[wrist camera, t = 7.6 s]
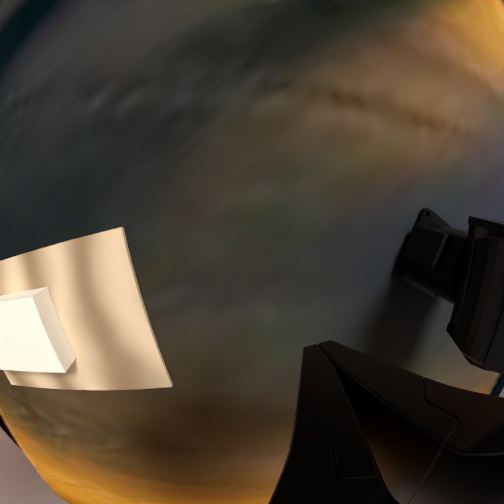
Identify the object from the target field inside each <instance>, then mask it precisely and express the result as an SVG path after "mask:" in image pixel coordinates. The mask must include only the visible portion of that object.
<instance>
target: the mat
mask: <svg viewBox="0 0 504 504" xmlns="http://www.w3.org/2000/svg"><path fill="white" fill-rule="evenodd" d="M43 287H48V290H49V293H50V296H51V299H52V302H53V304H54V307H55V310H56V313H57V315H58V318H59V320H60V323H61V325H62V328H63V330H64V333H65V335H66V337H67V340H68V342H69V344H70V346H71V349H72V351H73V353H74V355H75V357H76V359H75V360H74V362H73V363H72V364H71V366H70V367H69V368H68V370H67V371H66V373H52V372H27V371H13V370H4V372H5V374H6V376H7V377H8V379H9V381H10V383H11V384H12V385H19V386H28V387H39V388H51V389H69V390H132V389H151V388H165V387H172V386H173V383H172V380H171V378H170V376H169V373H168V371H167V368H166V365H165V363H164V360H163V358H162V355H161V352H160V350H159V347H158V344H157V341H156V339H155V336H154V333H153V330H152V327H151V324H150V321H149V318H148V315H147V312H146V309H145V306H144V303H143V299H142V296H141V293H140V289H139V286H138V283H137V279H136V275H135V272H134V268H133V264H132V261H131V257H130V253H129V249H128V245H127V241H126V236H125V232H124V227H120V228H116V229H112V230H108V231H104V232H100V233H96V234H92V235H88V236H84V237H81V238H77V239H73V240H69V241H66V242H62V243H59V244H55V245H51V246H48V247H45V248H41V249H38V250H34V251H31V252H28V253H24V254H21V255H18V256H15V257H11V258H8V259H5V260H2V261H0V296H2V295H7V294H12V293H17V292H22V291H28V290H33V289H38V288H43Z"/></svg>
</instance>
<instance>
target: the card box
mask: <svg viewBox="0 0 504 504" xmlns="http://www.w3.org/2000/svg"><path fill="white" fill-rule="evenodd" d="M75 359H76V357H75V355H74V353H73V351H72V349H71V346H70V344H69V342H68V340H67V337H66V335H65V333H64V330H63V328H62V325H61V323H60V320H59V318H58V315H57V313H56V310H55V307H54V304H53V302H52V299H51V296H50V293H49V290H48V287H43V288H38V289H33V290H28V291H22V292H17V293H12V294H7V295H2V296H0V369H1V370H13V371H27V372H52V373H66V371H67V370H68V368H69V367H70V366H71V364H72V363H73V362H74V360H75Z"/></svg>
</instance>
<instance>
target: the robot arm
mask: <svg viewBox="0 0 504 504" xmlns="http://www.w3.org/2000/svg"><path fill="white" fill-rule="evenodd" d="M426 212H427V215H426ZM468 224H469V230H468V232H466V231H463V230H459V229H455V228H452V227H451V226H449V225H448V224H447V223H446V222H445V221H444V220H442V219H441V218H440V217H439V216H438V215H436V214H435V213H434V212H433V211H432V210H430V209H429V208H423V209H422V211H421V213H420V215H419V218H418V220H417V222H416V225H415V227H414V229H413V232H412V234H411V236H410V238H409V240H408V243H407V245H406V247H405V249H404V251H403V253H402V256H401V258H400V260H399V262H398V264H397V266H396V268H395V270H394V275H395V276H396V277H397V278H399V279H401V280H403V281H404V282H406V283H408V284H410V285H412V286H413V287H415V288H417V289H419V290H420V291H422V292H424V293H426V294H427V295H429V296H431V297H433V298H434V299H436V298H438V297H439V296H440V297H441V298H443V299H445V300H446V301H448V302H450V303H451V304H453V305H454V309H453V312H452V316H451V319H450V323H448V326H447V329H446V331H447V332H448V333H449V335H450V336H451V338H452V339H453V341H454V342H455V343H456V345H457V346H458V348H459V349H460V351H461V352H462V354H463V355H464V357H465V358H466V359H467V360H468V361H469V363H470V364H472V365H475V366H476V367H479V368H481V369H483V370H488V371H494V372H497V373H500V374H503V375H504V222H501V221H495V220H490V219H484V218H478V217H472V216H469V220H468ZM400 270H401V273H400V274H399V271H400ZM269 504H504V398H503V397H497V396H492V395H487V394H482V393H477V392H472V391H468V390H464V389H460V388H456V387H452V386H449V385H446V384H443V383H440V382H437V381H434V380H431V379H428V378H424V379H423V377H422V376H420V375H417V374H415V373H412V372H409V371H407V370H404V369H401V368H399V367H396V366H394V365H391V364H388V363H386V362H383V361H381V360H378V359H376V358H373V357H371V356H368V355H366V354H364V353H361V352H359V351H356V350H354V349H351V348H349V347H347V346H344V345H342V344H340V343H337V342H335V341H332V340H329V341H326V342H322V343H319V344H318V345H317V344H314V345H311V346H307V347H304V349H303V357H302V366H301V374H300V383H299V391H298V398H297V406H296V413H295V420H294V426H293V432H292V438H291V442H290V447H289V451H288V455H287V458H286V461H285V464H284V467H283V470H282V473H281V475H280V478H279V480H278V483H277V485H276V487H275V490H274V492H273V495H272V497H271V499H270V501H269Z"/></svg>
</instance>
